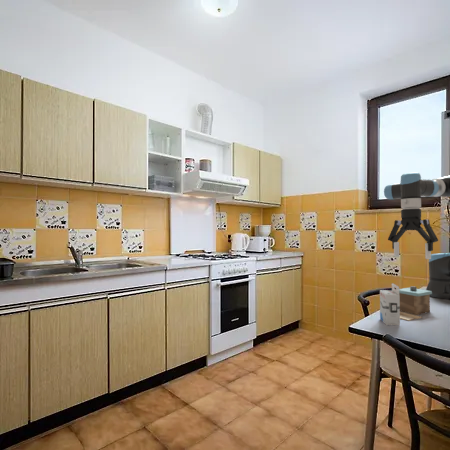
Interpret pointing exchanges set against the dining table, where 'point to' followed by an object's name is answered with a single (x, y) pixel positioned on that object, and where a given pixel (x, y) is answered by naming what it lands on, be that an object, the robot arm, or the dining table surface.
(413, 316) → the trivet
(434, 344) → the dining table surface
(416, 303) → the box
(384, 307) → the ink box
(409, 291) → the lid
